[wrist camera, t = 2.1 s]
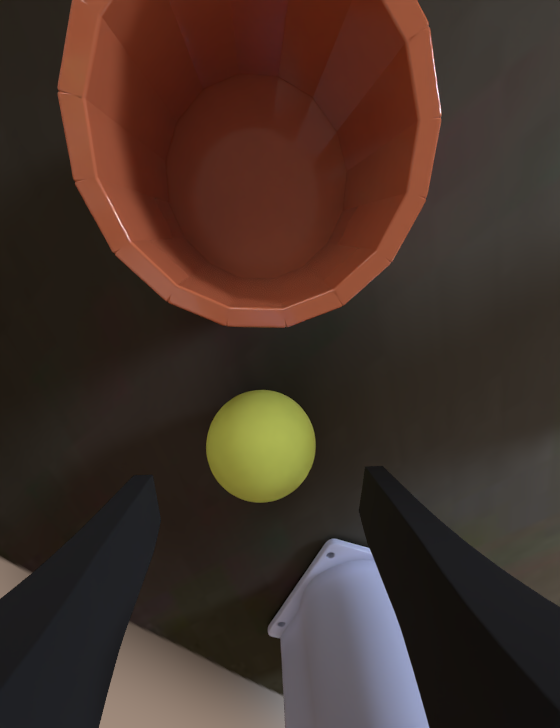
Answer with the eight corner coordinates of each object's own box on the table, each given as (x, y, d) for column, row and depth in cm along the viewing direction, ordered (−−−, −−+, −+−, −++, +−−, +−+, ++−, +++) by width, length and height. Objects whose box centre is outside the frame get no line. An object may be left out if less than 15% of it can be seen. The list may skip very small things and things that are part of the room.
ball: (283, 463, 17) (292, 541, 13) (200, 436, 16) (179, 511, 12) (323, 393, 15) (348, 453, 11) (234, 358, 14) (224, 410, 10)
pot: (302, 316, 14) (332, 371, 8) (132, 241, 12) (29, 247, 7) (391, 132, 11) (516, 38, 6) (195, 10, 10) (116, -275, 4)
